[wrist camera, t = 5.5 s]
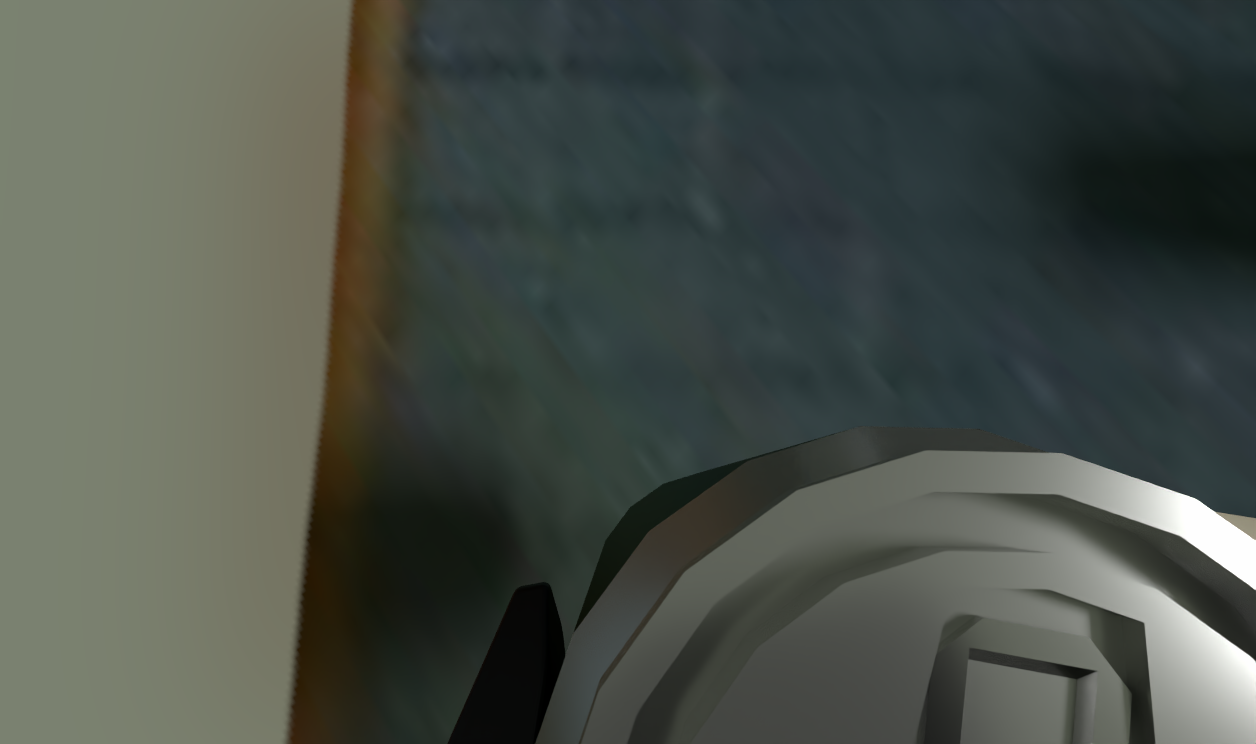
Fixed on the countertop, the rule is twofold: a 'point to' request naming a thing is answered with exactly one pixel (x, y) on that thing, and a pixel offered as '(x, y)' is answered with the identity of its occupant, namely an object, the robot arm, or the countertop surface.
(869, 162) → the countertop surface
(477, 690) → the robot arm
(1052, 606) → the beer can
